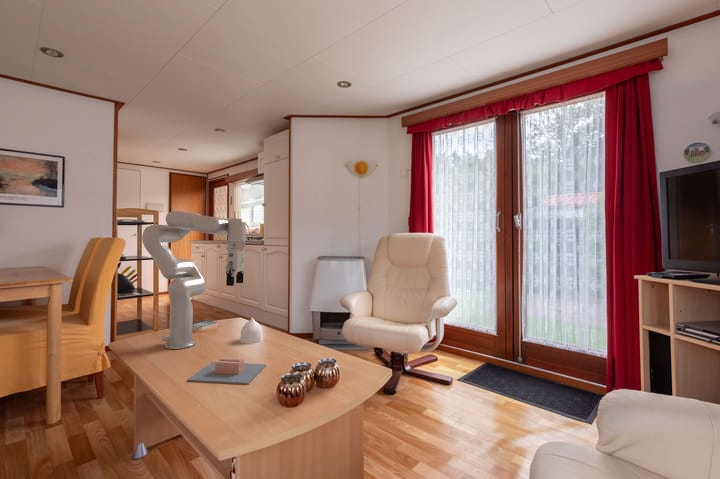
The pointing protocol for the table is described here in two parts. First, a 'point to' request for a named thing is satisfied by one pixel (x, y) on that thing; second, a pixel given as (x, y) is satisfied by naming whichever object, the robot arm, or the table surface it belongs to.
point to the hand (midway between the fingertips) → (235, 284)
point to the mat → (241, 378)
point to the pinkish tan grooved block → (229, 366)
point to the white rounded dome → (251, 332)
